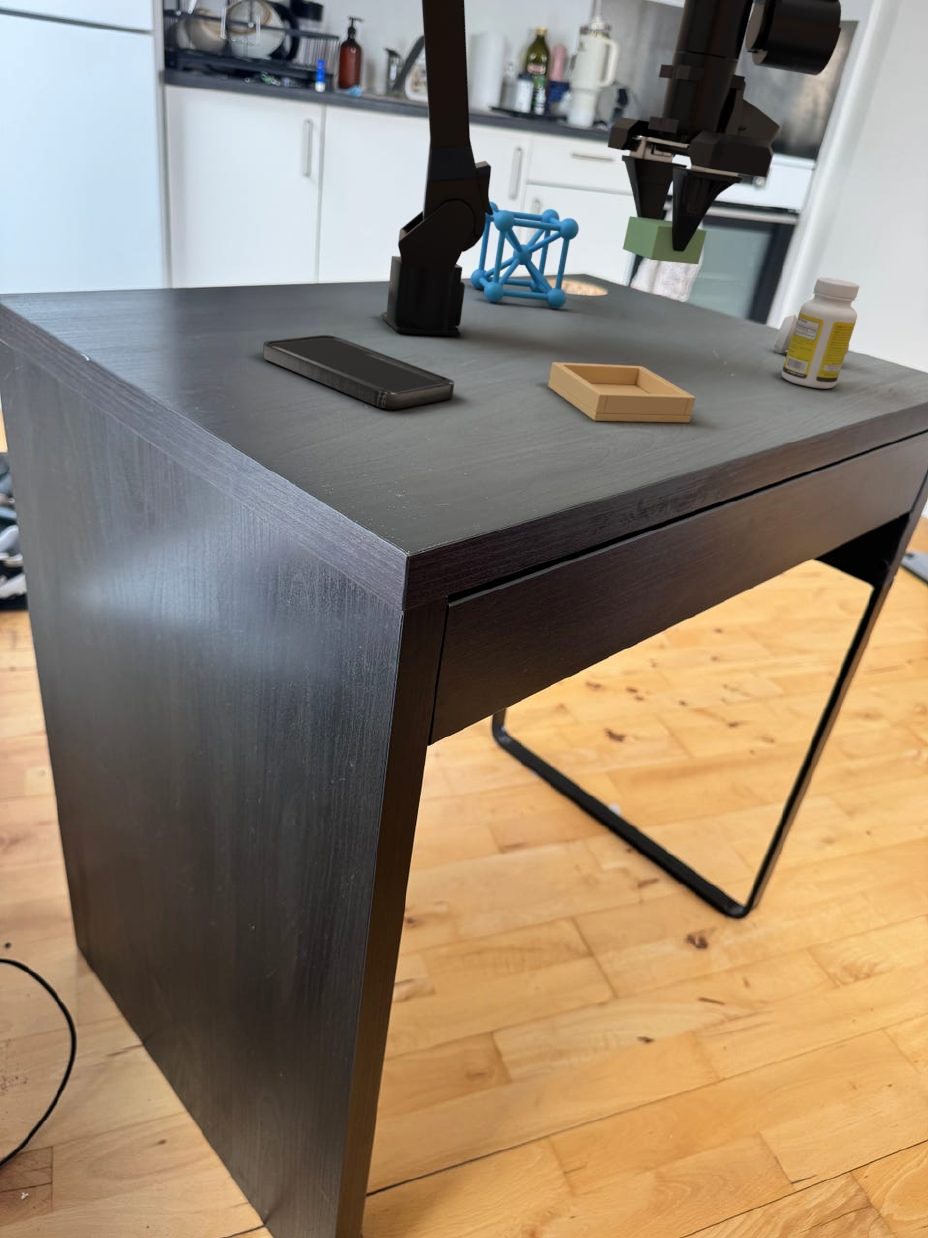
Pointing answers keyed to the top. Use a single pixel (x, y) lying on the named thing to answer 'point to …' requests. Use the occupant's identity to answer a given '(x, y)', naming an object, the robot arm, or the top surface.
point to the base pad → (620, 393)
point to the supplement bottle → (822, 335)
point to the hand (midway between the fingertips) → (662, 245)
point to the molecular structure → (524, 255)
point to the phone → (359, 371)
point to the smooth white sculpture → (787, 334)
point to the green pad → (660, 241)
